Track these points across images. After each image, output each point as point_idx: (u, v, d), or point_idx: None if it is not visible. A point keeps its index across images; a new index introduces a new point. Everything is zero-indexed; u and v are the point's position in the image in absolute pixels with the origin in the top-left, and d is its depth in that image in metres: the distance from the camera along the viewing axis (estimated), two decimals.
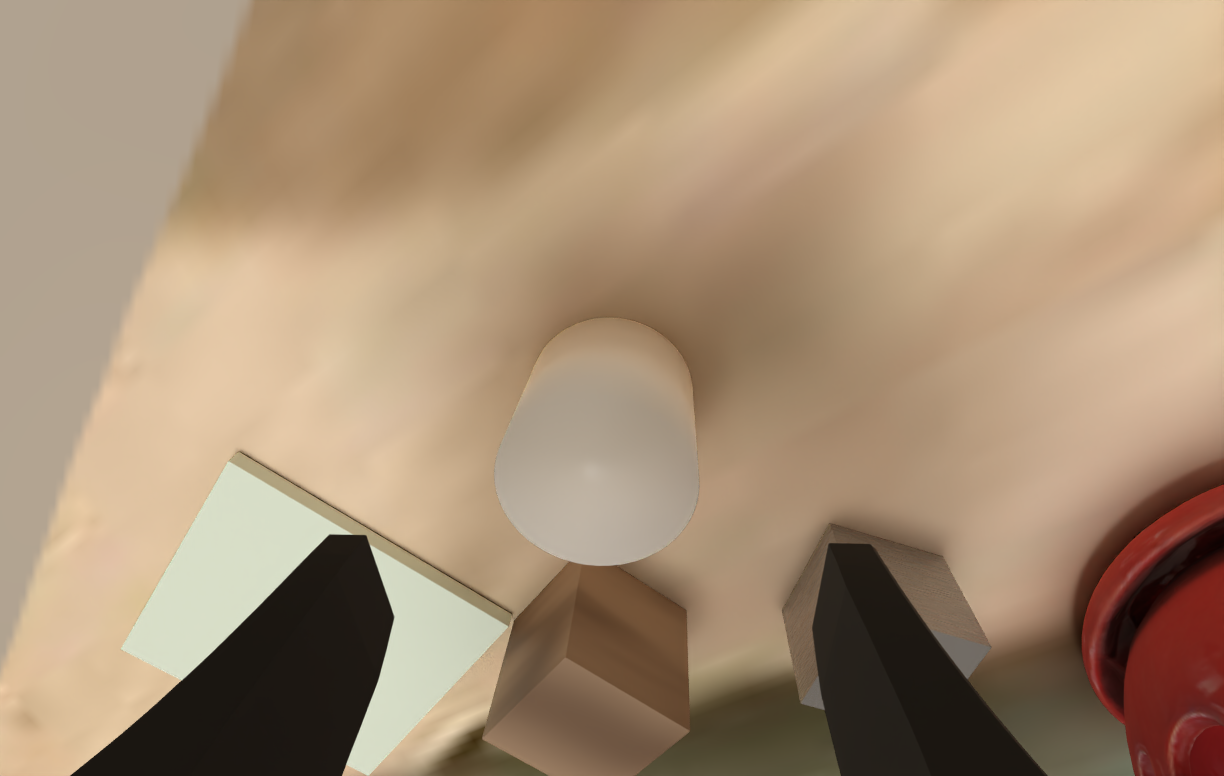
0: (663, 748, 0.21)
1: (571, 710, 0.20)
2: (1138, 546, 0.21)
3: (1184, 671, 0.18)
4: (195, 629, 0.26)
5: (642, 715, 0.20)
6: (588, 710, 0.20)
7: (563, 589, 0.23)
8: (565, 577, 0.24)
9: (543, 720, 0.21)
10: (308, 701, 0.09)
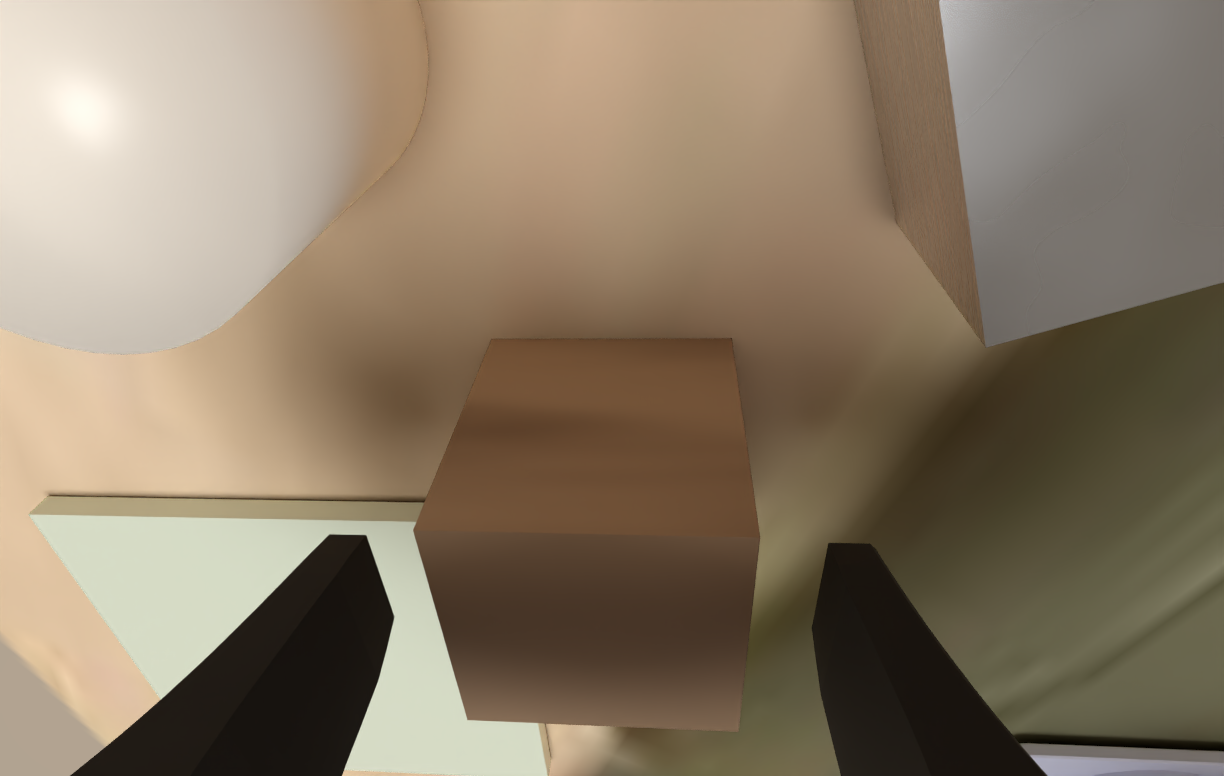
0: (743, 595, 0.09)
1: (527, 612, 0.10)
2: None
3: None
4: None
5: (644, 557, 0.09)
6: (552, 598, 0.10)
7: None
8: None
9: (511, 651, 0.11)
10: (308, 701, 0.09)
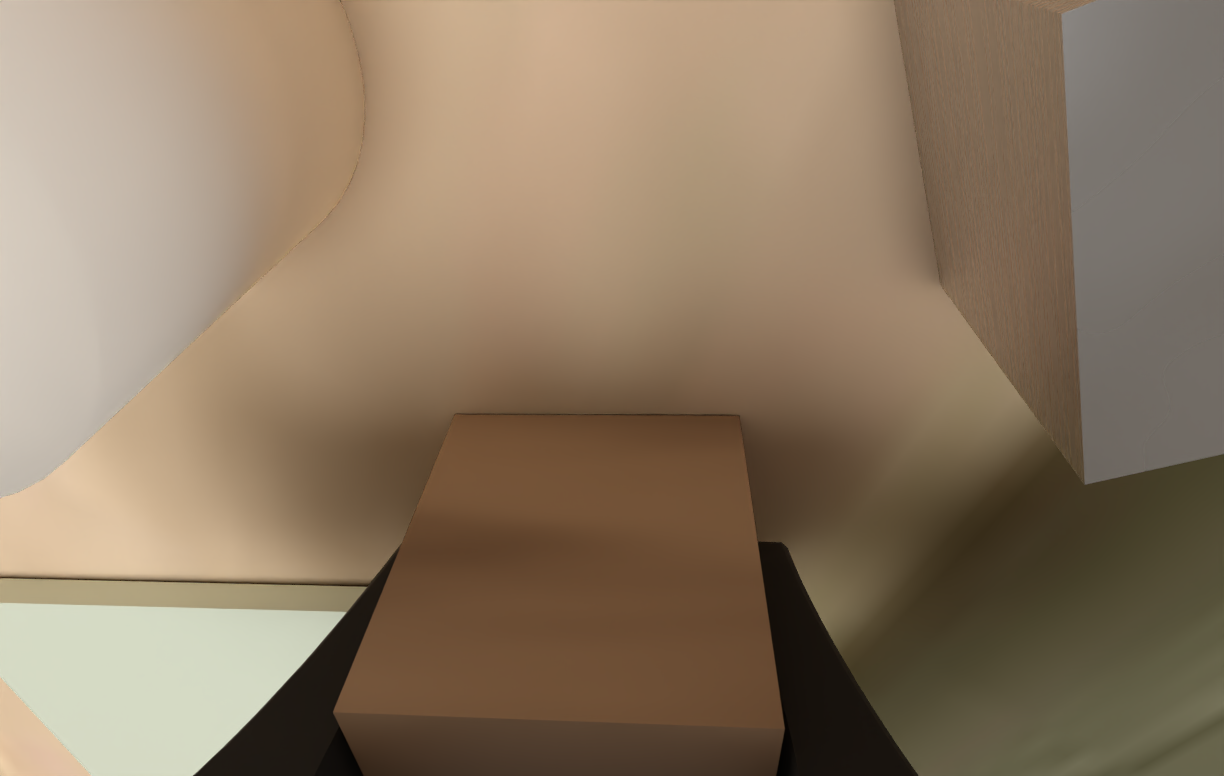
0: None
1: None
2: None
3: None
4: None
5: (633, 745, 0.07)
6: None
7: None
8: None
9: None
10: None
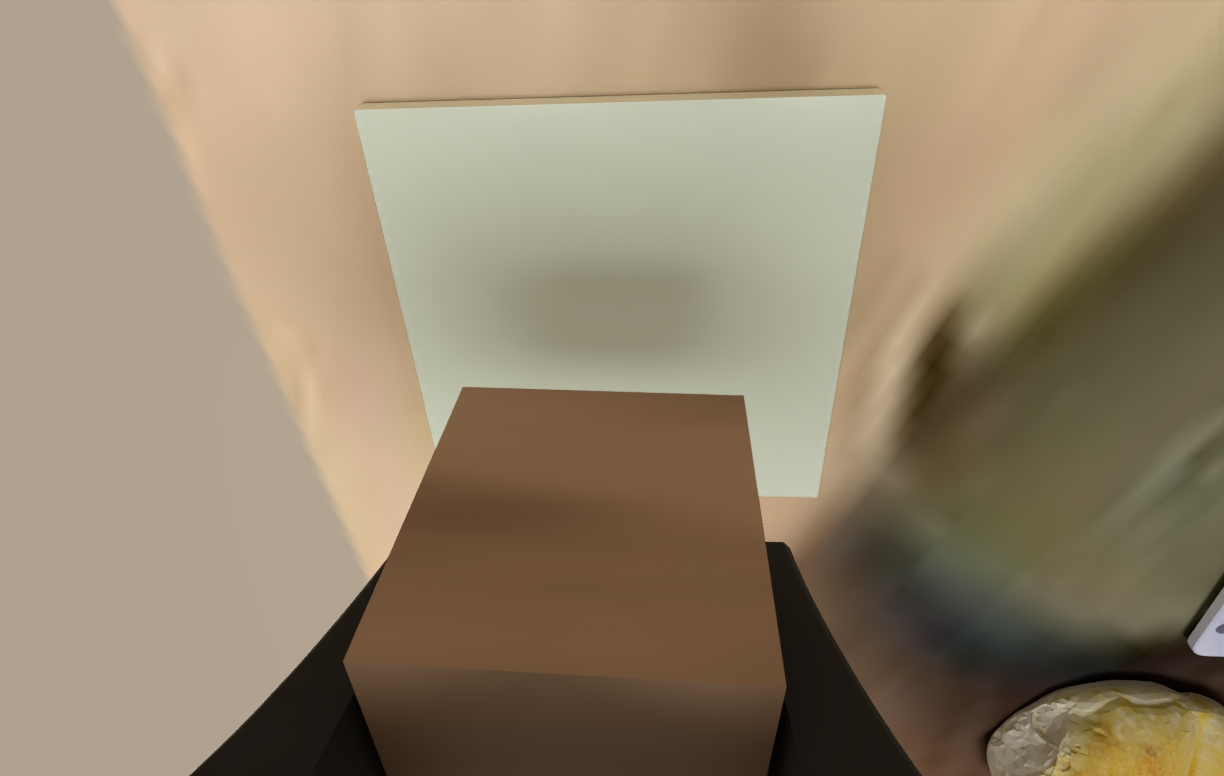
0: (762, 747, 0.08)
1: (490, 752, 0.08)
2: None
3: None
4: None
5: (638, 701, 0.07)
6: (519, 739, 0.08)
7: None
8: None
9: None
10: None
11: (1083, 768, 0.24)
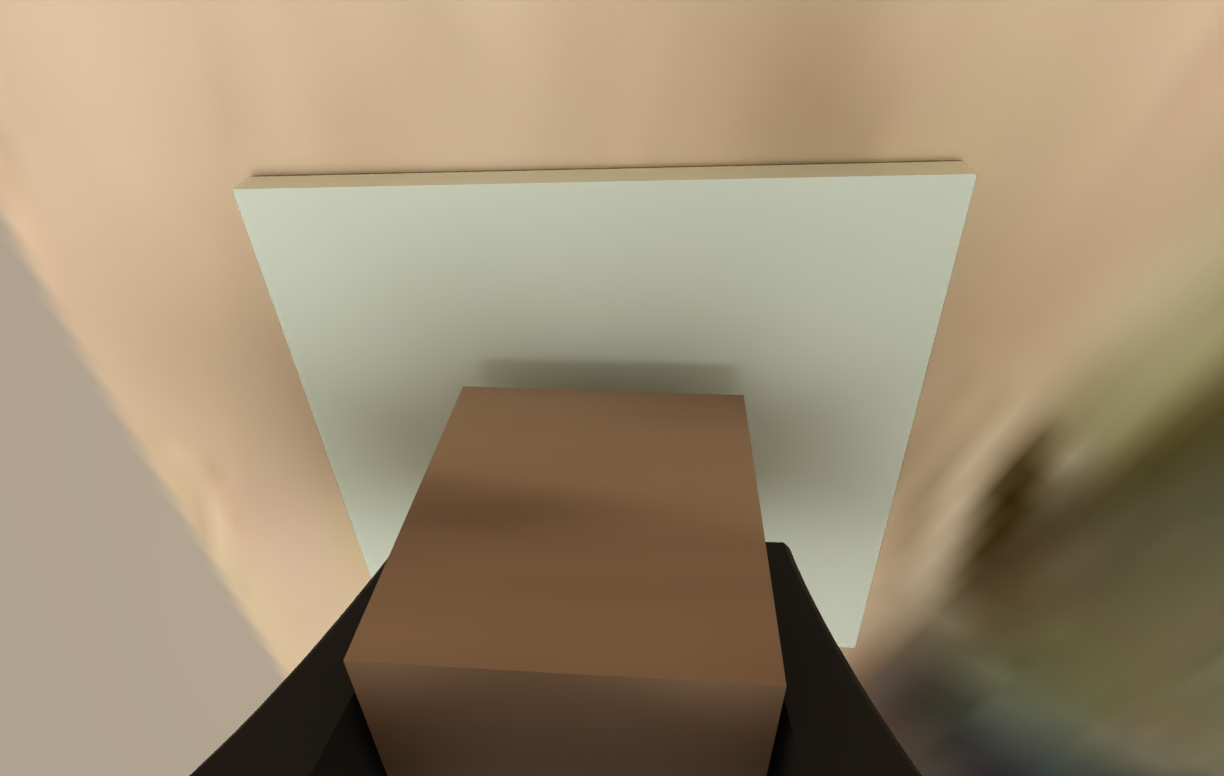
0: (762, 746, 0.08)
1: (490, 751, 0.08)
2: None
3: None
4: None
5: (638, 700, 0.07)
6: (519, 739, 0.08)
7: None
8: None
9: None
10: None
11: None
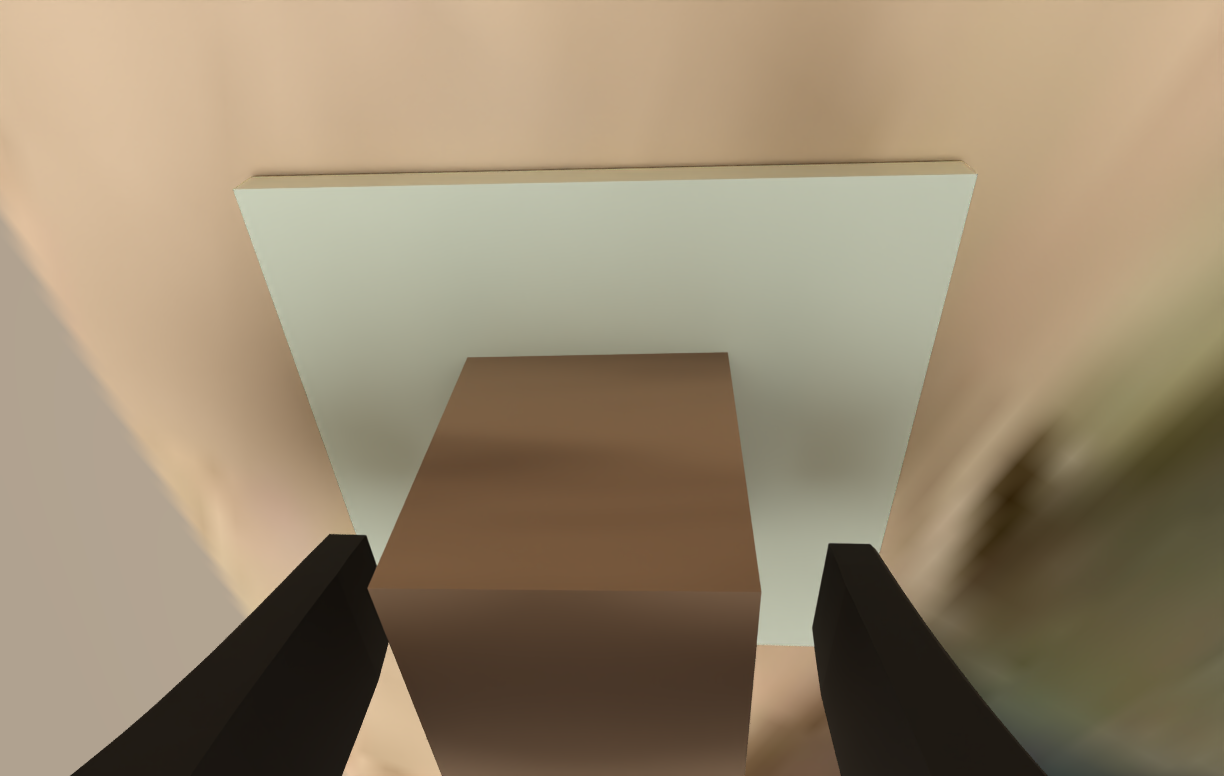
0: (745, 653, 0.08)
1: (502, 672, 0.09)
2: None
3: None
4: None
5: (630, 614, 0.08)
6: (529, 658, 0.09)
7: None
8: None
9: (487, 713, 0.09)
10: (308, 701, 0.09)
11: None
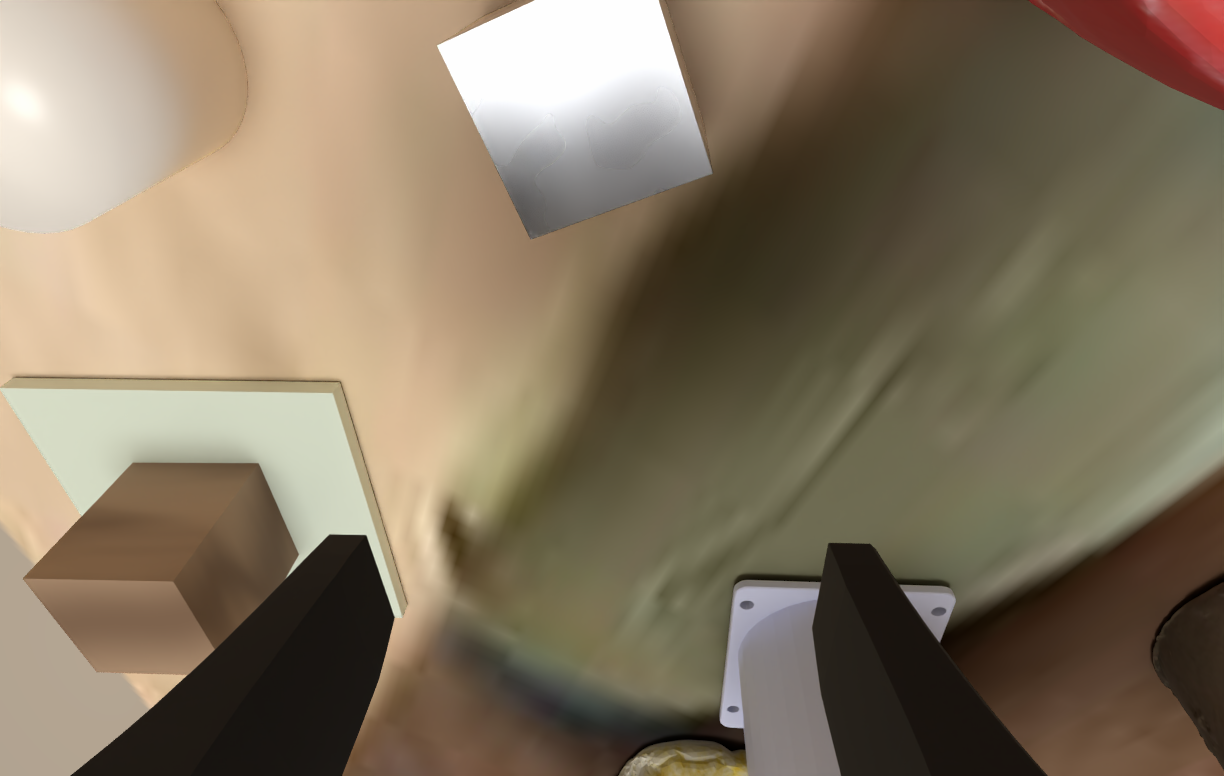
0: (185, 607, 0.20)
1: (94, 615, 0.21)
2: None
3: None
4: None
5: (129, 590, 0.20)
6: (101, 609, 0.20)
7: None
8: None
9: (97, 635, 0.21)
10: (308, 701, 0.09)
11: None
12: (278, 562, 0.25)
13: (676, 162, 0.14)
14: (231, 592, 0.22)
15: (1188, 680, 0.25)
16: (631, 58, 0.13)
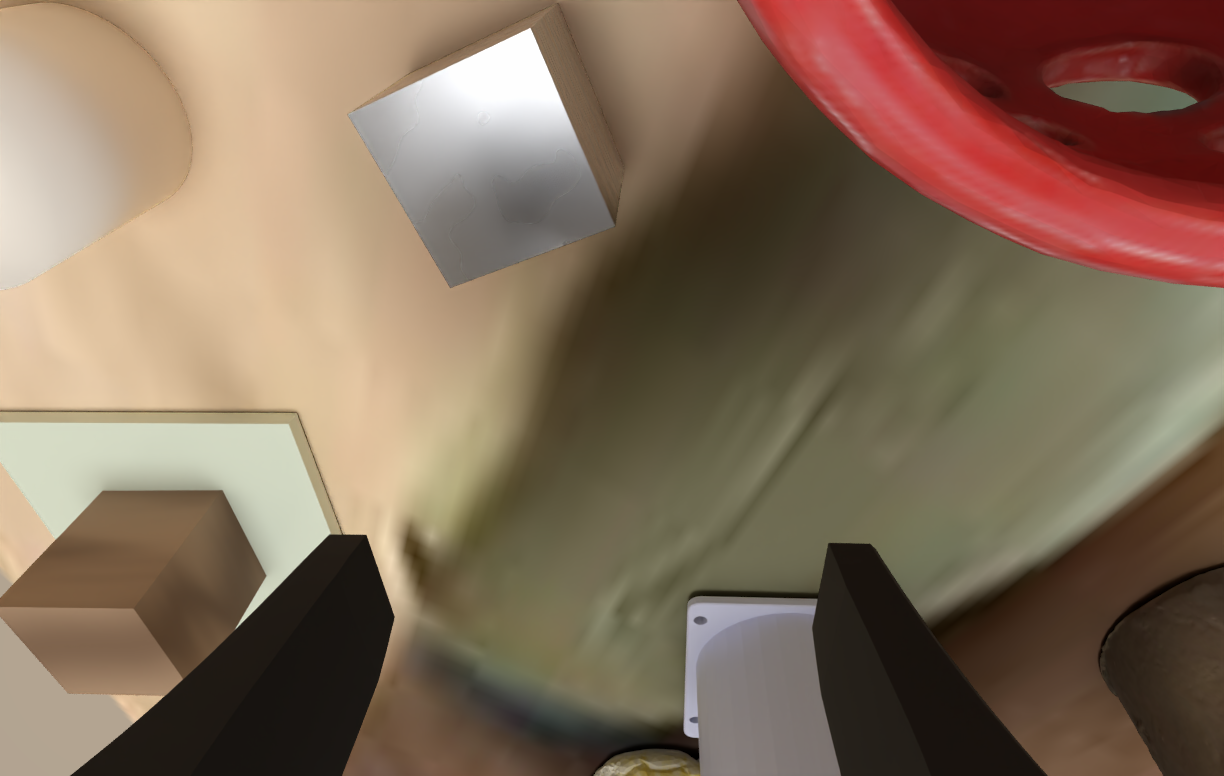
0: (146, 632, 0.21)
1: (61, 641, 0.22)
2: None
3: None
4: None
5: (93, 616, 0.21)
6: (67, 634, 0.21)
7: None
8: None
9: (66, 659, 0.22)
10: (308, 702, 0.09)
11: None
12: (244, 584, 0.26)
13: (580, 216, 0.14)
14: (194, 616, 0.23)
15: (1130, 690, 0.26)
16: (529, 123, 0.13)
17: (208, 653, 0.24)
